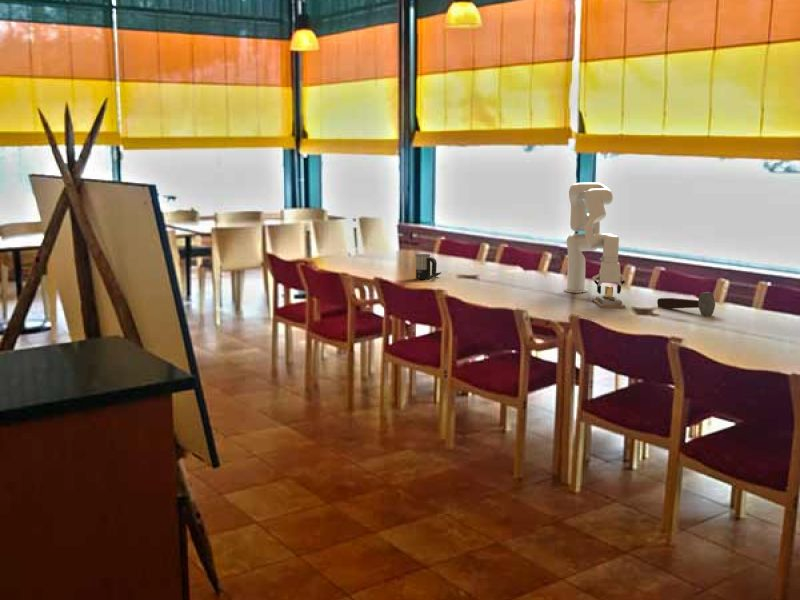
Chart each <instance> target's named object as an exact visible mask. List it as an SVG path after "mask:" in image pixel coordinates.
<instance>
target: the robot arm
mask: <svg viewBox="0 0 800 600" xmlns="http://www.w3.org/2000/svg"><path fill="white" fill-rule="evenodd" d="M568 200H569V204H570V217H569V218H570V220H569V222H570V224H569V225H570V229H571V230H572V231H574V232H584V233H574V234H573V233H572V234H570V235H568V236H567V237H566V247H567V273H566V274H567V278H566V279H567V280H566V281H567V282H566V287H564V288H563V291H564V292H566V293H572V294H573V293H574V294H576V293H577V294H579V293H580V294H581V293H582V292H583V293H587V292H588V289H587V288H585V285H586V284H585V283H586V263H587V262H586V256H585V255H584V254H583V252H588V251H589V252H591V251H593V252H594V251H596V250H597V249H602V256H601V257H599V261H601V262H600V266H599V271H598V272H599V273H598V274H595V275H594V276H592V277H591V278H592V281H593V282H594V284H595V285H596V292H597V293H598V294H599V295H601V294H602V284H603V283H605V284H606V283H607V284H609V283H610V284H611V283H613V284H615V283H617V285H616V293H617V294H618V295H619V294H621V292H622V286H623V284H625V282H626V281H627V279H628V277H627V276H626V275H623V274H622V273H621V264H620V262H619V247H620V245H619V243H620V239H619V236H618V235H614V234H613V233H608V232H607V233H604V232H603V233H601V232H600V230H601V229H600V228H601V225H600V223H601V221H602V220H603V219H605V218H606V216H607V213H606V212H607V211H606V209H605V205H610V204H611V203H612V202H613V200H614V197H613V192H612V191H611V189H610V188H608V187H607V186H606V185H604V184H602V183H601V182H576V183H573V184H572V185H571V186H570V187H569V191H568ZM587 212H588V213H587ZM621 278H622V280H621ZM597 279H598V281H597Z"/></svg>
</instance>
